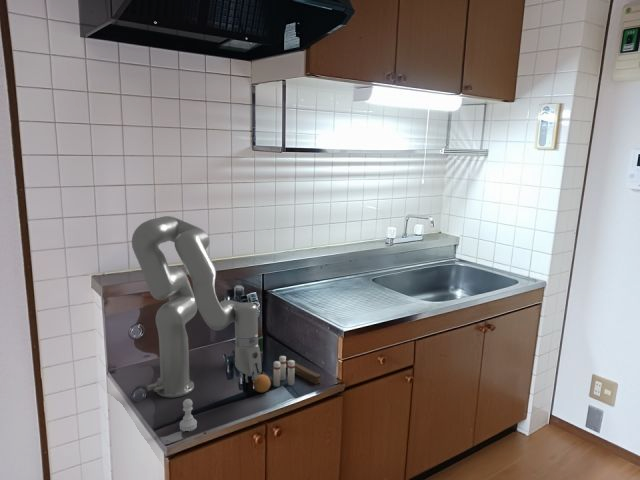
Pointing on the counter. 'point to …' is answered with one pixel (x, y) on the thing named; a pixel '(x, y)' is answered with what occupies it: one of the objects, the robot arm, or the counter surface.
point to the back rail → (306, 373)
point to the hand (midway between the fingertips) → (247, 391)
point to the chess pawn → (188, 417)
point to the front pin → (276, 373)
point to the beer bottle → (260, 339)
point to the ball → (262, 383)
